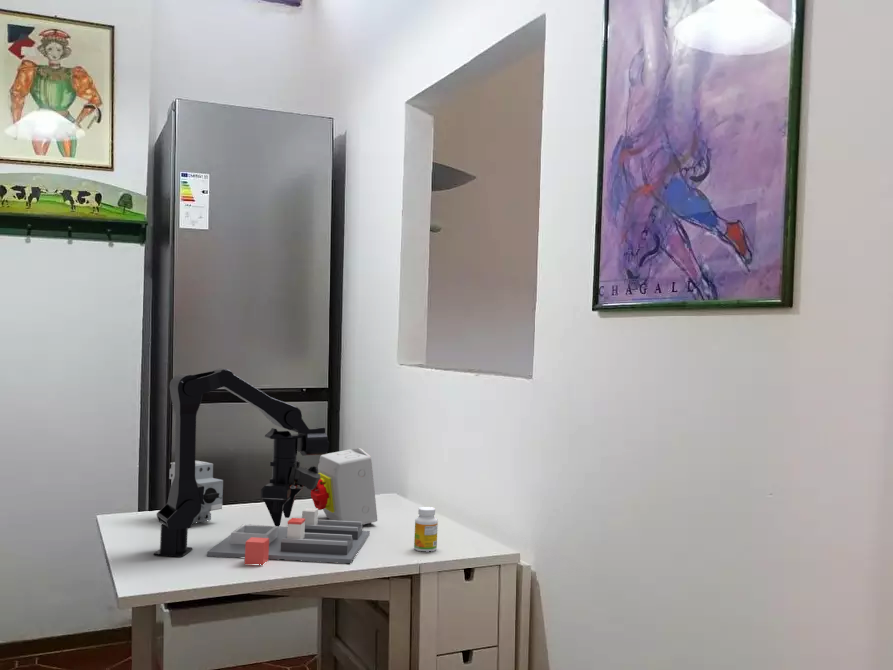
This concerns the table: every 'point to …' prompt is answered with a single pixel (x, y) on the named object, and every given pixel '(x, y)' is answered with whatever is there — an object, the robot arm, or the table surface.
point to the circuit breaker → (205, 489)
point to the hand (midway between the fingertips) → (282, 521)
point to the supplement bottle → (426, 530)
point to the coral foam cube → (256, 550)
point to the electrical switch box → (346, 486)
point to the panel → (299, 542)
